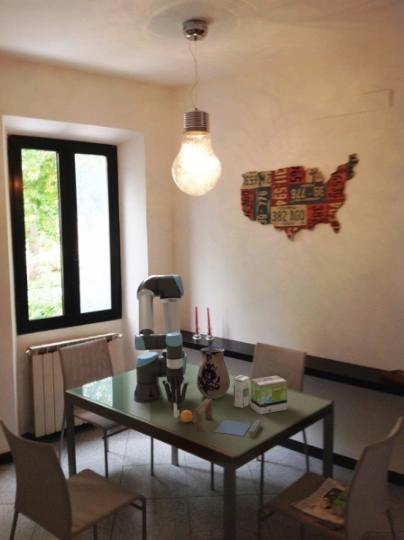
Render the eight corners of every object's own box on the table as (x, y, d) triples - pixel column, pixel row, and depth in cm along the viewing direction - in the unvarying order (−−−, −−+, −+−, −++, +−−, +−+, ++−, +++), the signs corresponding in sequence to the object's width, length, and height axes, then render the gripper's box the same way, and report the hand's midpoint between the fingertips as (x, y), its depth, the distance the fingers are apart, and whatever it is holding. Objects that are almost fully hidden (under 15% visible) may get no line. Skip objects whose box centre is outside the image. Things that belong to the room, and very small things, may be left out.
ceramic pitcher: (193, 400, 252) (191, 353, 249) (203, 386, 272) (202, 342, 269) (226, 403, 247) (225, 355, 244) (234, 388, 267) (233, 344, 264)
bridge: (195, 430, 217) (194, 410, 216) (206, 417, 230) (206, 398, 229) (201, 431, 216) (200, 411, 215) (212, 418, 229) (212, 399, 228)
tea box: (261, 415, 231) (260, 385, 229) (250, 408, 240) (250, 379, 238) (288, 409, 237) (287, 380, 235) (276, 402, 246) (276, 374, 244)
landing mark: (214, 432, 214) (214, 431, 214) (224, 420, 226) (224, 419, 226) (243, 436, 210) (243, 435, 210) (251, 424, 222) (251, 423, 222)
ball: (184, 410, 222) (191, 421, 222) (190, 406, 227) (196, 416, 227) (176, 415, 225) (182, 426, 224) (182, 411, 230) (188, 421, 229)
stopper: (249, 436, 209) (249, 431, 209) (256, 425, 220) (256, 419, 220) (253, 437, 208) (253, 431, 208) (260, 425, 220) (260, 420, 219)
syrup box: (240, 402, 248) (239, 374, 246) (249, 405, 244) (249, 376, 242) (233, 405, 243) (232, 377, 242) (243, 408, 239) (242, 380, 238)
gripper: (158, 367, 224) (160, 417, 226) (184, 370, 219) (186, 421, 221) (165, 363, 231) (167, 411, 233) (191, 365, 226) (192, 414, 228)
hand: (176, 416), depth 227 cm, fingers closed
